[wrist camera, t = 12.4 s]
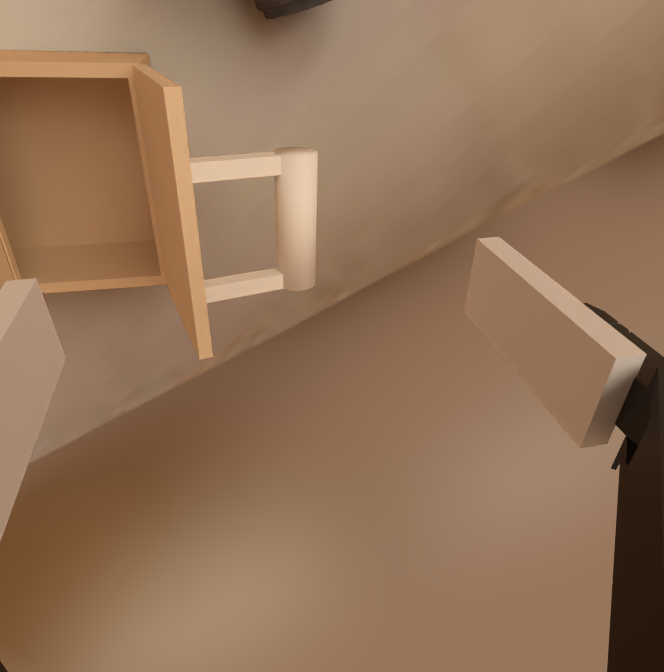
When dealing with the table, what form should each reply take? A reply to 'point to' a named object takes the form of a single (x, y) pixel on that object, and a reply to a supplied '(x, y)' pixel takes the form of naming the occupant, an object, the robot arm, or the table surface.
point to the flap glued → (7, 259)
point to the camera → (285, 6)
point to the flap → (180, 213)
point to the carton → (76, 171)
